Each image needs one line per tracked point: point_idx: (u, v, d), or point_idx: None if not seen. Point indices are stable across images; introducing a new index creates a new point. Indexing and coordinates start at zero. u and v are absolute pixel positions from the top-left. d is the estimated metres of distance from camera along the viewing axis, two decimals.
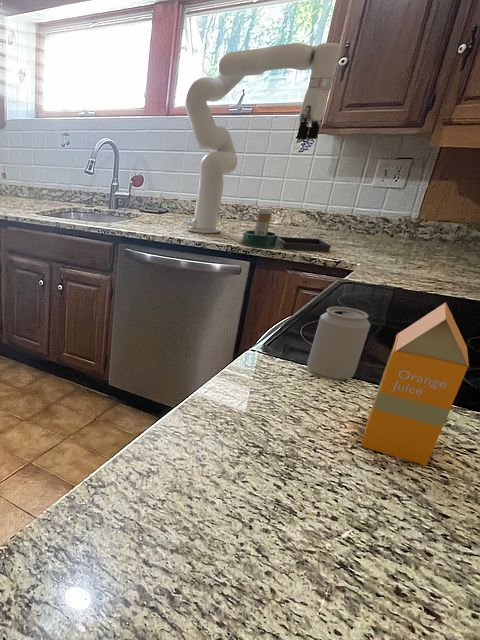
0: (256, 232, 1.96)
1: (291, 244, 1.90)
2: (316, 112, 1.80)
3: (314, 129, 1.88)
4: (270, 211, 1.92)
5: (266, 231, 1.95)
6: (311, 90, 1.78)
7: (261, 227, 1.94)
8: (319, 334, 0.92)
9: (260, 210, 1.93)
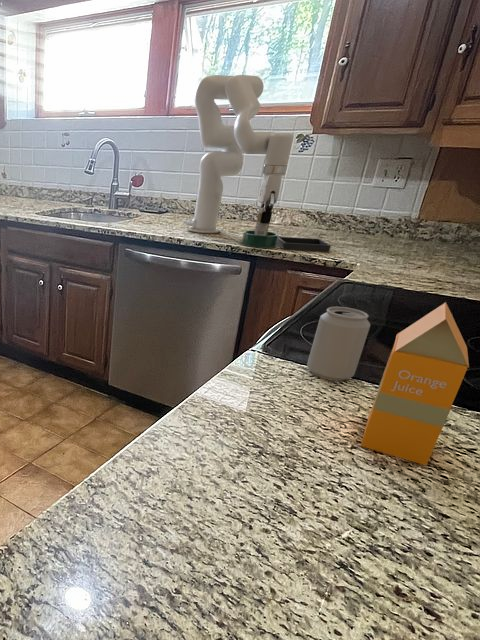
0: (256, 232, 1.96)
1: (291, 244, 1.90)
2: None
3: None
4: None
5: (266, 231, 1.95)
6: (274, 176, 1.84)
7: (261, 227, 1.94)
8: (319, 334, 0.92)
9: (260, 210, 1.93)
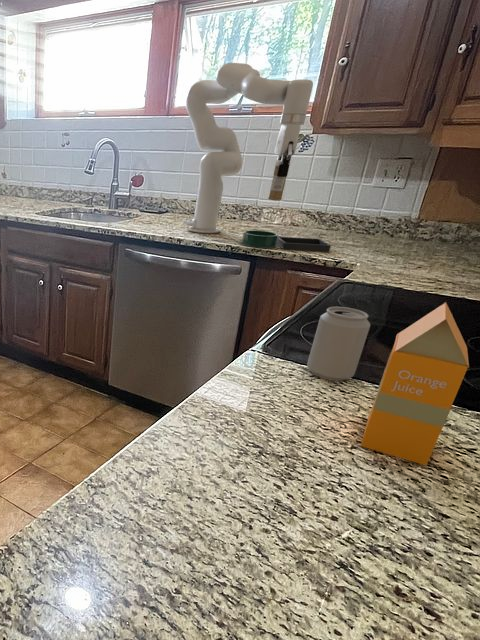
0: (272, 186, 1.89)
1: (291, 244, 1.90)
2: None
3: None
4: None
5: (283, 185, 1.88)
6: (292, 125, 1.77)
7: (278, 181, 1.87)
8: (319, 334, 0.92)
9: (277, 163, 1.86)
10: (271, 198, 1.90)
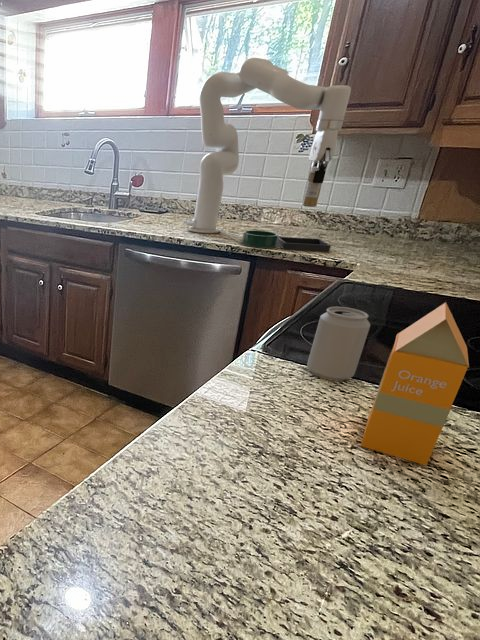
0: (307, 193, 1.87)
1: (291, 244, 1.90)
2: None
3: None
4: None
5: (318, 191, 1.86)
6: (329, 131, 1.75)
7: (313, 188, 1.85)
8: (319, 334, 0.92)
9: (313, 169, 1.84)
10: (306, 204, 1.88)
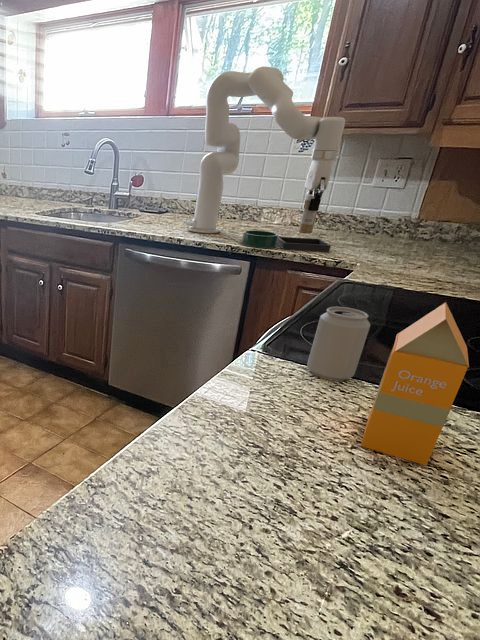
0: (303, 220, 1.91)
1: (291, 244, 1.90)
2: None
3: None
4: None
5: (314, 219, 1.90)
6: (324, 161, 1.79)
7: (309, 215, 1.89)
8: (319, 334, 0.92)
9: (308, 197, 1.88)
10: (302, 231, 1.92)
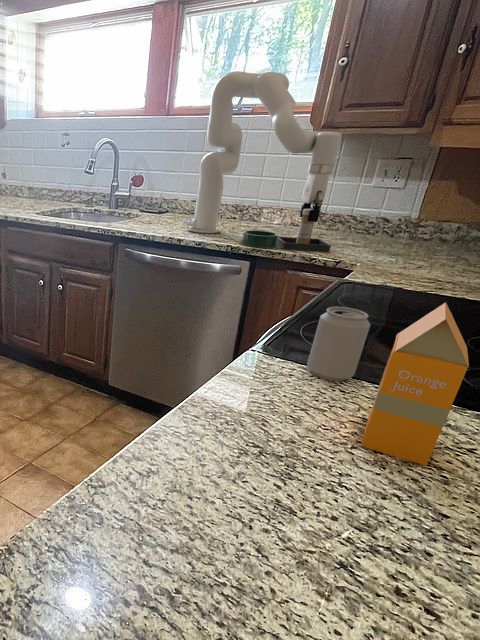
0: (300, 234, 1.93)
1: (291, 244, 1.90)
2: None
3: (307, 208, 1.94)
4: None
5: (310, 233, 1.92)
6: (321, 175, 1.81)
7: (305, 229, 1.91)
8: (319, 334, 0.92)
9: (304, 211, 1.90)
10: None
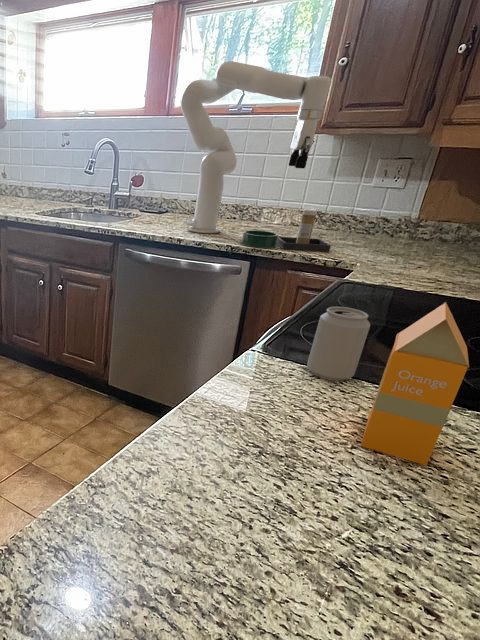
0: (300, 234, 1.93)
1: (291, 244, 1.90)
2: None
3: (296, 157, 1.95)
4: (315, 212, 1.88)
5: (310, 233, 1.92)
6: (309, 121, 1.82)
7: (305, 229, 1.91)
8: (319, 334, 0.92)
9: (304, 211, 1.90)
10: None
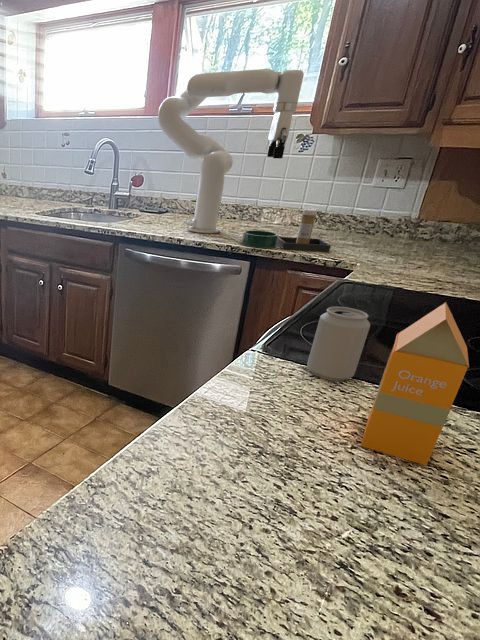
0: (300, 234, 1.93)
1: (291, 244, 1.90)
2: None
3: (274, 148, 2.03)
4: (315, 212, 1.88)
5: (310, 233, 1.92)
6: (285, 113, 1.90)
7: (305, 229, 1.91)
8: (319, 334, 0.92)
9: (304, 211, 1.90)
10: None
